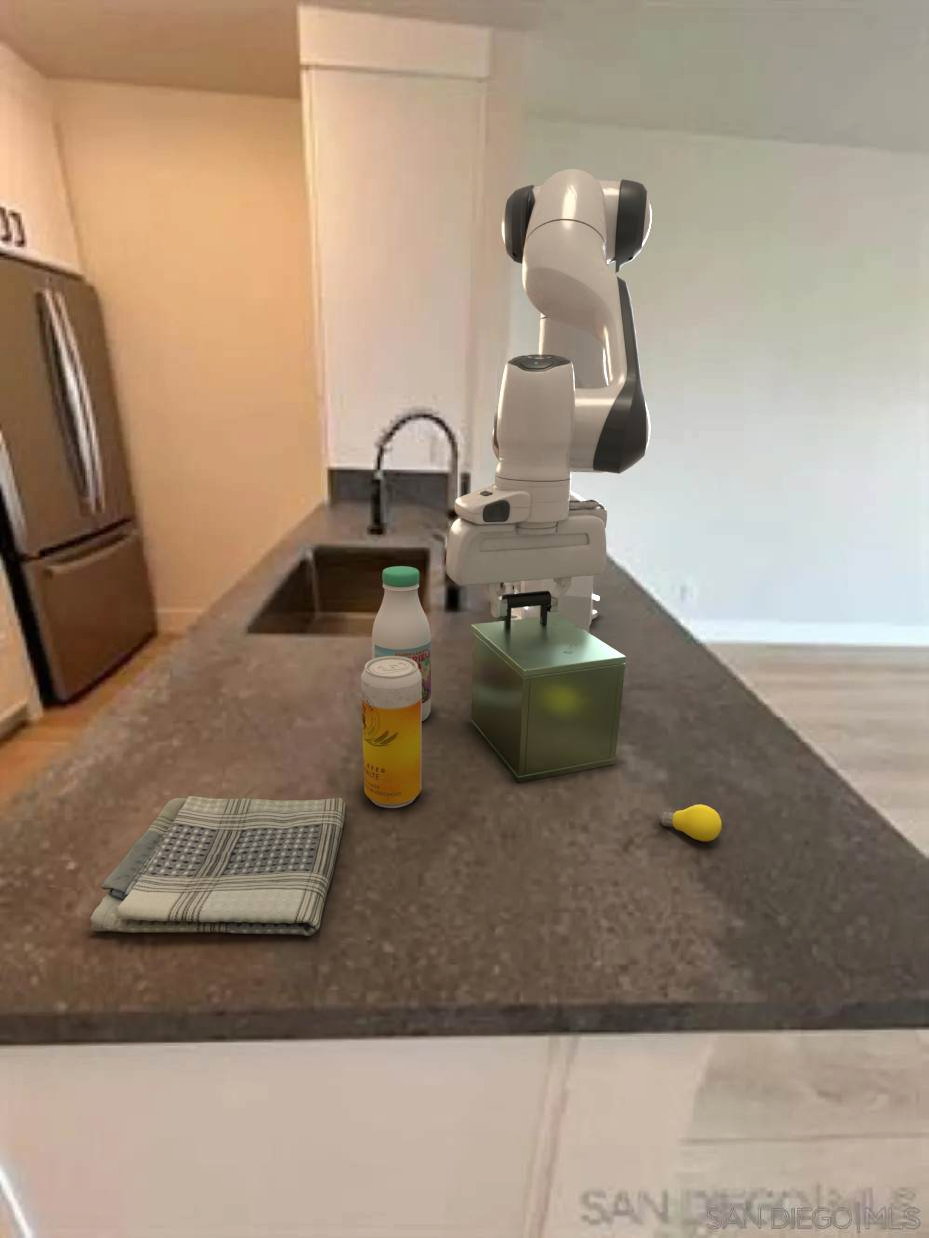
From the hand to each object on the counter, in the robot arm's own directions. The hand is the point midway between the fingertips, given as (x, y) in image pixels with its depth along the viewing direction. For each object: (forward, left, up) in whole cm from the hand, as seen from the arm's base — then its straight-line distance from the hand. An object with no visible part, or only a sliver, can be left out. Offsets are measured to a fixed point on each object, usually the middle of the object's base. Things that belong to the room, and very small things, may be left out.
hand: (525, 613), depth 84 cm
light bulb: (+27, +6, -15) cm, 31 cm away
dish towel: (+17, -36, -15) cm, 43 cm away
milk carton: (-9, +11, -15) cm, 21 cm away
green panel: (+5, 0, -2) cm, 6 cm away
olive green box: (+6, 0, -15) cm, 16 cm away
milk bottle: (-7, -14, -15) cm, 22 cm away
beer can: (+11, -20, -15) cm, 27 cm away
